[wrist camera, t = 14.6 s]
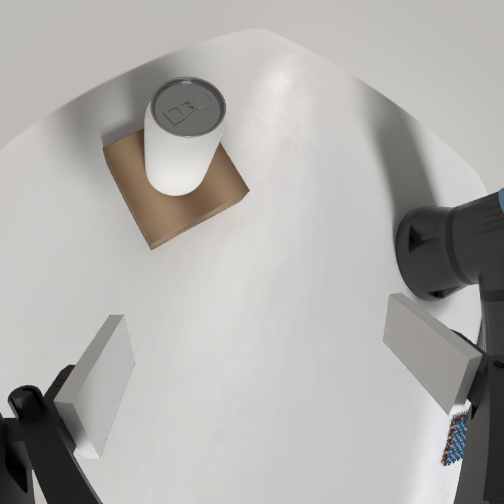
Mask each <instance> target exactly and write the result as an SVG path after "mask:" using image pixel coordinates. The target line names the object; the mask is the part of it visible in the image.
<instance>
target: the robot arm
mask: <svg viewBox="0 0 504 504" xmlns="http://www.w3.org/2000/svg"><path fill="white" fill-rule="evenodd" d="M396 250H397V259H398V264H399V268H400V271H401V274H402V276H403V279H404V281H405V283H406V284H407V286H408V287H409V289H410V290H411V291H412V292H413V293H414V294H415V295H416V296H418V297H419V298H421V299H424V300H440V299H444V298H446V297H448V296H450V295H452V294H454V293H455V292H457V291H459V290H461V289H462V288H464V287H466V286H468V285H473V284H479V291H480V300H481V310H482V324H483V343H484V348H483V350H482V349H480V348H479V347H478V346H476V345H475V344H473V342H471V341H470V340H469V339H468V340H467V338H466V337H465V336H463V335H462V334H461V333H459V332H456V331H454V330H452V329H449V328H448V327H447V326H445V325H444V324H443V323H441V322H440V321H439V320H437V319H436V318H435V317H433V316H432V315H431V314H429V313H428V312H427V311H425V310H424V309H423V308H421V307H420V306H419V305H417V304H416V303H415V302H413V301H412V300H410V299H409V298H408V297H406V296H405V295H404V294H402V293H397V294H390V295H389V301H388V309H387V317H386V324H385V331H384V337H383V342H384V343H385V344H386V345H387V346H388V347H389V348H390V350H391V351H392V352H393V353H394V354H395V355H396V356H397V357H398V358H399V360H400V361H401V362H402V363H403V364H404V365H405V366H406V367H407V369H408V370H409V371H410V372H411V373H412V374H413V375H414V376H415V378H416V379H417V380H418V381H419V382H420V383H421V384H422V386H423V387H424V388H425V389H426V390H427V391H428V393H429V394H430V395H431V396H432V397H433V398H434V399H435V401H436V402H437V403H438V404H439V405H440V406H441V408H442V409H443V410H444V411H445V412H446V413H447V415H448V416H449V415H452V414H454V413H457V412H459V411H461V410H462V409H463V407H464V404H465V402H466V399H468V400H469V401H470V402H471V406H470V408H469V410H468V412H467V415H466V417H465V419H464V421H463V424H465V423H466V421H467V420H468V422H467V431H466V440H465V447H464V454H463V460H462V466H461V471H460V477H459V482H458V486H457V491H456V495H455V500H454V504H504V188H502V189H501V190H500V191H499V192H496V193H493V194H490V195H488V196H485V197H482V198H480V199H477V200H474V201H471V202H468V203H465V204H463V205H460V206H457V207H454V208H451V207H436V206H425V207H421V208H418V209H416V210H413V211H411V212H409V213H408V214H407V215H406V216H405V217H404V219H403V220H402V222H401V224H400V227H399V230H398V234H397V243H396ZM134 365H135V361H134V357H133V352H132V348H131V344H130V340H129V335H128V331H127V326H126V321H125V316H124V315H110V316H109V317H108V318H107V320H106V321H105V323H104V324H103V326H102V327H101V328H100V330H99V331H98V333H97V334H96V336H95V337H94V339H93V340H92V342H91V343H90V345H89V346H88V347H87V349H86V350H85V352H84V354H83V355H82V357H81V358H80V360H79V361H78V363H77V364H76V365H68V366H67V367H65V368H64V369H63V370H61V371H60V373H59V374H58V376H57V377H56V380H54V382H53V383H52V386H50V388H49V389H48V391H47V392H46V394H45V395H44V397H43V396H42V393H41V391H40V390H39V388H38V387H35V386H32V385H26V386H21V387H19V388H17V389H15V390H14V391H13V392H11V393H10V395H9V397H8V403H9V405H10V407H11V409H12V411H13V413H14V415H15V417H16V418H3V417H2V415H1V413H0V504H35V499H34V490H33V480H32V470H34V472H35V475H36V477H37V480H38V483H39V485H40V487H41V490H42V492H43V494H44V497H45V499H46V501H47V503H48V504H103V503H102V502H101V500H100V498H99V497H98V495H97V494H96V492H95V491H94V489H93V488H92V486H91V484H90V483H89V481H88V479H87V478H86V476H85V474H84V473H83V471H82V469H81V467H80V466H79V464H78V462H77V460H76V459H75V457H74V455H73V453H74V451H75V448H76V447H77V449H78V451H79V453H80V454H81V456H82V457H87V458H94V459H101V456H102V453H103V450H104V447H105V444H106V441H107V438H108V435H109V432H110V429H111V426H112V423H113V421H114V418H115V415H116V412H117V409H118V407H119V404H120V401H121V399H122V396H123V393H124V391H125V388H126V385H127V383H128V380H129V377H130V375H131V372H132V370H133V367H134Z"/></svg>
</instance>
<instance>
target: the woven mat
mask: <svg viewBox="0 0 504 504" xmlns="http://www.w3.org/2000/svg"><path fill="white" fill-rule="evenodd" d="M466 415H467V414H466ZM466 415H464V416H462V415H461V416H460V417H457V418H456V419H453V420H451V423H452V422H453V425H452V426H451V428H450V429H451V430H450V431H449V433H451V435H449V436H448V438H449V439H450V440H448V441H447V443H448V445H447V446H446V448H447V449H446V451H445V452H444V454H445V455H444V456H443V457H445V460H443V461H442V462H441V463H442V464H443V466H447V463H449V464H448V465H450V464H451V462H452V461H453V463H454V462H455V461H456V459H457V461H459V459H460V457H461V459H463V454H464V447H465V440H466V431H467V422H468V420H467V421H466V423H465V424H463V421H464V419H465V417H466ZM454 428H455V429H454ZM449 448H450V449H449ZM447 456H448V457H447ZM443 457H442V458H443Z"/></svg>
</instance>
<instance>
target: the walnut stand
mask: <svg viewBox="0 0 504 504" xmlns="http://www.w3.org/2000/svg"><path fill="white" fill-rule="evenodd" d="M102 149H103V152H104V156H105V160H106V163H107V165H108V167H109V169H110V172H111V174H112V176H113V178H114V180H115V182H116V184H117V186H118V188H119V190H120V192H121V194H122V196H123V198H124V200H125V202H126V204H127V206H128V208H129V210H130V212H131V213H132V215H133V217H134V219H135V221H136V223H137V225H138V227H139V229H140V230H141V232H142V234H143V236H144V238H145V240H146V242H147V243H148V245H149V247H150V249H151V250H152V249H154V248H156V247H158V246H160V245H161V244H163V243H165V242H167V241H168V240H170V239H172V238H174V237H176V236H177V235H179V234H181V233H183V232H185V231H186V230H188V229H190V228H192V227H194V226H196V225H197V224H199V223H201V222H203V221H205V220H207V219H208V218H210V217H212V216H214V215H216V214H218V213H220V212H222V211H223V210H225V209H227V208H229V207H231V206H233V205H235V204H237V203H239V202H240V201H241V200H242V199H243V198H244V197H245V195H246V194H247V193H248V192H249V191H250V190H249V189H248V187H247V185H246V184H245V182H244V181H243V179H242V177H241V176H240V174H239V172H238V171H237V169H236V168H235V166H234V164H233V163H232V161H231V159H230V158H229V156H228V155H227V153H226V151H225V150H224V148H223V147H222V145H221V143H220V142H219V144H218V147H217V149H216V151H215V153H214V156H213V158H212V160H211V163H210V165H209V167H208V170H207V172H206V174H205V176H204V178H203V180H202V182H201V183H200V185H199V186H198V187H197V188H196V189H195V190H193V191H191V192H190V193H187V194H184V195H180V196H171V195H166V194H163V193H161V192H159V191H158V190H156V189H155V188H154V187H153V186H152V185H151V184H150V182H149V180H148V178H147V176H146V171H145V150H144V129H142V130H140V131H137V132H135V133H133V134H131V135H129V136H127V137H124V138H122V139H120V140H118V141H116V142H114V143H112V144H110V145H108V146H106V147H104V148H102Z"/></svg>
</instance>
